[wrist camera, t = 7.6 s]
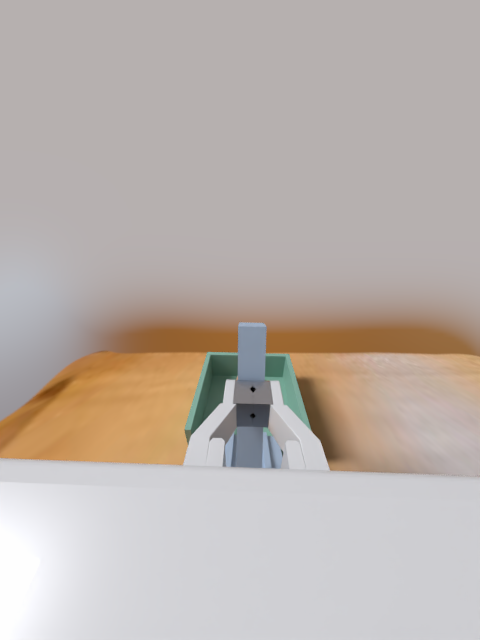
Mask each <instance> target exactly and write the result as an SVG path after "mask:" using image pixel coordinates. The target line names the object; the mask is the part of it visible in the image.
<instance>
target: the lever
mask: <svg viewBox="0 0 480 640" xmlns="http://www.w3.org/2000/svg"><path fill="white" fill-rule="evenodd" d="M265 356H266V326H265V324H264V323H239V326H238V380H265ZM225 453H226V467H247V468H275V469H280V468H281V463H282V458H283V457H282V452H281V448H280V446H279V445H278V443H277V442H276V440H275V438H274V437H273V436H267V433H266V432H263V427H237V435H234V433H233V434H232V436H231V437H230V439H229V441H228V442H227V444H226V445H225Z"/></svg>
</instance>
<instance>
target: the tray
mask: <svg viewBox="0 0 480 640" xmlns="http://www.w3.org/2000/svg"><path fill="white" fill-rule="evenodd" d="M237 376H238V353H223V352H207V355H206V359H205V362H204V365H203V369H202V372H201V376H200V379H199V382H198V386H197V389H196V392H195V396H194V399H193V403H192V406H191V409H190V413H189V416H188V420H187V423H186V426H185V434H186V438H187V443H188V445H189V441H190V437H191V435H192V434H193V433H194V432H195V431H196V430H197V429H198V428H199V426H200V425H201V424H202V423H203V422H204V421H205V420H206V419H207V418H208V416H209V415H210V414H211V413H212V412H213V411H214V410H215V409H216V408H217V406H218V405H219V404H220V403H223V399H224V391H225V383H226V379H229V380H237ZM265 381H279V382H280V387H281V392H282V397H283V402H284V405H287V406H288V407H289V408H290V409H291V410H292V411H293V412H294V413H295V414H296V416H297V417H298V418H299V419H300V420H301V421H302V422H303V423H304V424H305V425H306V426H307V427H308V428H309V429H310V430H311V428H310V424H309V421H308V417H307V414H306V411H305V407H304V404H303V400H302V397H301V394H300V390H299V387H298V383H297V380H296V376H295V373H294V370H293V366H292V363H291V359H290V356H289V354H266V356H265ZM263 432H266V433H267V436H273V435H272V434H271V432H270V431H269V429H268V428H266V427H263ZM234 435H237V428H236V429H235V431H234ZM281 452H282V457H283V451H282V449H281Z"/></svg>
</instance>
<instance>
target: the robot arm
mask: <svg viewBox="0 0 480 640" xmlns="http://www.w3.org/2000/svg"><path fill="white" fill-rule="evenodd" d="M237 427H266V428H268V429H269V431H270V432H271V434H272V435H273V437H274V438H275V440H276V442H277V443H278V445H279V446H280V448H281V449H282V451H283V458H282V463H281V468H280V469H275V468H247V467H226V453H225V445H226V444H227V442H228V441H229V439H230V437H231V436H232V434H233V433H234V431H235V429H236V428H237ZM0 640H480V476H463V475H436V474H409V473H382V472H355V471H330V469H329V466H328V463H327V460H326V457H325V454H324V451H323V448H322V445H321V442H320V440H319V439H318V438H317V437H316V436H315V435H314V434H313V433H312V431H311V430H310V429H309V428H308V427H307V426H306V425H305V424H304V423H303V422H302V421H301V420H300V419H299V418H298V417H297V416H296V414H295V413H294V412H293V411H292V410H291V409H290V408H289V407H288V406H287V405H284V402H283V397H282V392H281V387H280V382H279V381H265V380H229V379H226V383H225V391H224V399H223V403H220V404H219V405H218V406H217V408H216V409H215V410H214V411H213V412H212V413H211V414H210V415H209V416H208V418H207V419H206V420H205V421H204V422H203V423H202V424H201V425H200V426H199V428H198V429H197V430H196V431H195V432H194V433H193V434H192V435H191V437H190V441H189V445H188V448H187V452H186V456H185V460H184V464H183V465H166V464H139V463H112V462H86V461H60V460H34V459H8V458H0Z"/></svg>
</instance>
